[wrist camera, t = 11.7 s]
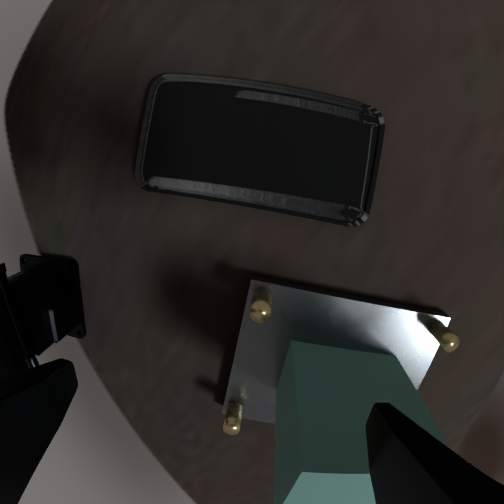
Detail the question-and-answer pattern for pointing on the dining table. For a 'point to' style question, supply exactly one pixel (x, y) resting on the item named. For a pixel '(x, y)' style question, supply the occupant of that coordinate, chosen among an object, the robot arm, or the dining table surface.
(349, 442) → the teal rectangular block
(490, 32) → the dining table surface
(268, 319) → the chassis
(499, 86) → the dining table surface
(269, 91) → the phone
